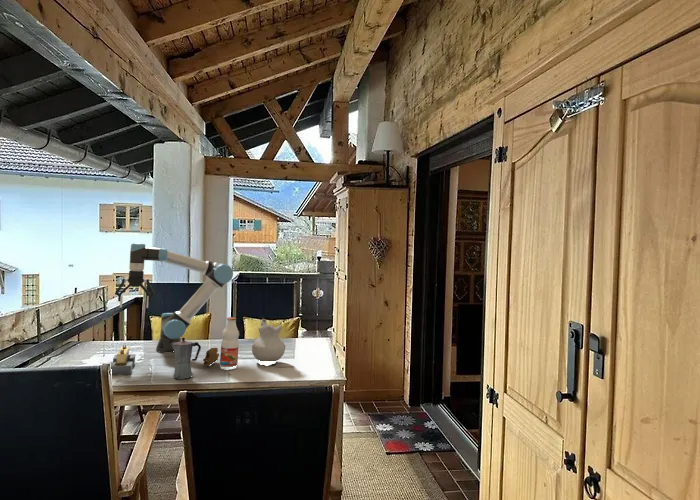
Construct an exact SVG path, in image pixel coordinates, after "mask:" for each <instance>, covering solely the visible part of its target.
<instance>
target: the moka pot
mask: <svg viewBox="0 0 700 500" xmlns="http://www.w3.org/2000/svg"><path fill="white" fill-rule="evenodd" d="M170 345H172V348H173V350H174V352H173V353H174V358H175V359H174V360H175V364H174V365H175V366H174V373H173V379H175V378H177V379H176V380H185V379H184V378H187V379H190V378H192V377H193V372H192V363H191V361H193V362H195V361H197V360H198V358H199V354H200V352H201V348H202V346H201V345H200V344H199V343H198V341H195V342H193V341H187V340H186V337H181V341H180V342H174V343H172V344H170ZM193 347H198V348H197V351H196V354H195V357H194V358H192V355H193V354H192V353H193ZM191 358H192V359H191ZM191 376H192V377H191ZM189 377H190V378H189Z"/></svg>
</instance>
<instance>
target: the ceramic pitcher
mask: <svg viewBox="0 0 700 500" xmlns="http://www.w3.org/2000/svg"><path fill="white" fill-rule="evenodd" d="M282 330H283V326H282V325H281V324H280V325H278V326H276V327H275V326H274V325H272V324H268V322H267V319H265V318H262V319H261V323H260V326H259V327H258V331H259V337H258V338H257V339H256V340H255V341H253V343H252V346H251V352H252V355H253V357H254V358H255V359H256V360H257V361H259V360H260V361H279V360H280V359H281V358H282V357H283V356H284V354H285V351H286V345H285V343H284V342H283V341H282V340H281V338H280V334H281V331H282Z"/></svg>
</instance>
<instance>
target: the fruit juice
mask: <svg viewBox="0 0 700 500" xmlns="http://www.w3.org/2000/svg"><path fill="white" fill-rule="evenodd" d="M236 321H237V317H234V316H230V317H229V316H228V317H227V318H226V322H227V323H226V324H225V327H224V329H222V333H221V335H222V340H221V344H220V354H219V356H220V359H219V367H220V366H221V367H233V366H236V365H237V366H238V361H239V360H238V359H239V347H240V345H239V344H240V343H239V342H240V341H239V336H240V331H239V330H238V329H239V328H238V327H237V322H236Z"/></svg>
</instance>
